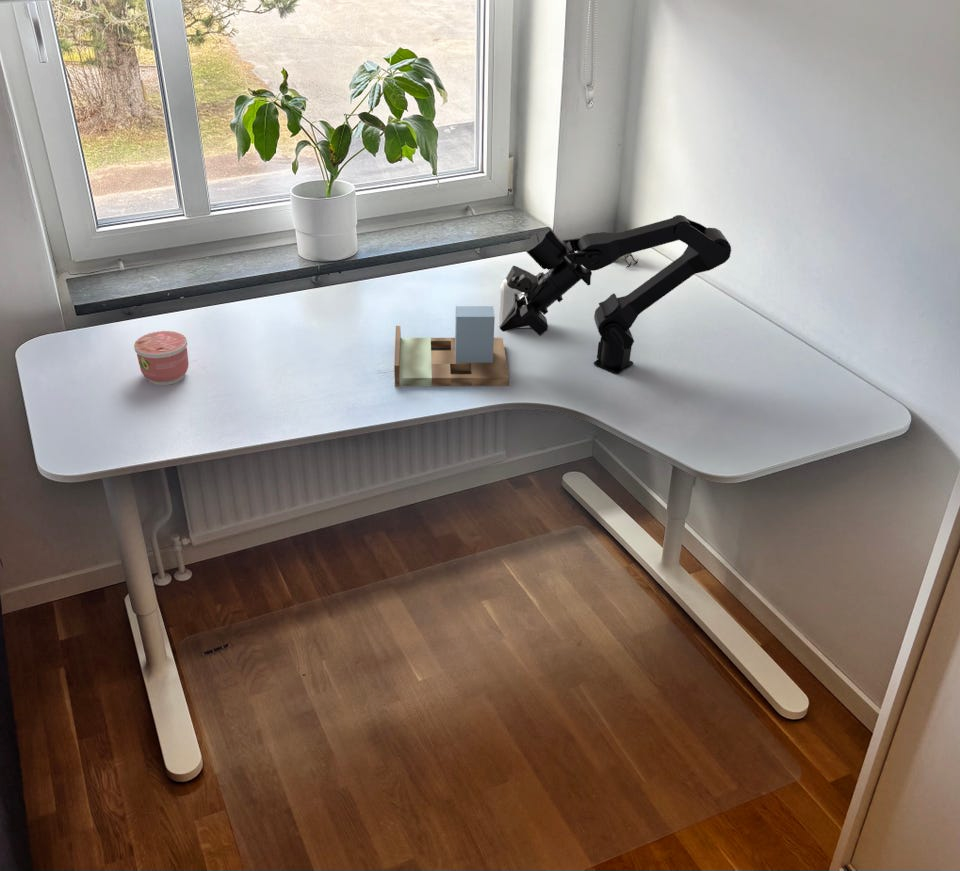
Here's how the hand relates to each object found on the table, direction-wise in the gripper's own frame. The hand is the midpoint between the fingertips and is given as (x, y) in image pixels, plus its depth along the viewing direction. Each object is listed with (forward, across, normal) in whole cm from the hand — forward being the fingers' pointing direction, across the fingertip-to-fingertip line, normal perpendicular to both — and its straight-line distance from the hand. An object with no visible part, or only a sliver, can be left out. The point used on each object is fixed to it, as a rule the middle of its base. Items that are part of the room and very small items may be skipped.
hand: (501, 329), depth 204 cm
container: (+57, +4, -44) cm, 72 cm away
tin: (+9, 0, +1) cm, 9 cm away
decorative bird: (-18, -58, +31) cm, 69 cm away
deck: (+13, 0, -1) cm, 13 cm away
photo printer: (+2, -19, +11) cm, 22 cm away
